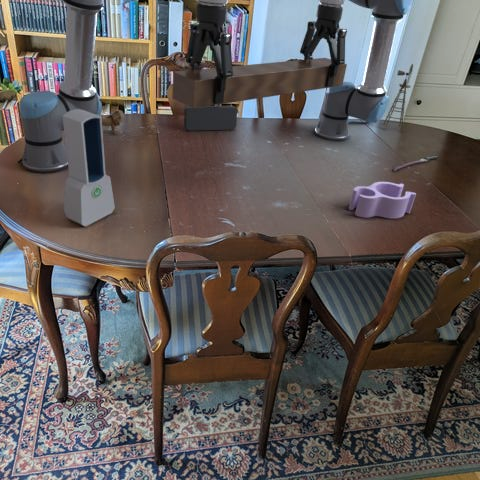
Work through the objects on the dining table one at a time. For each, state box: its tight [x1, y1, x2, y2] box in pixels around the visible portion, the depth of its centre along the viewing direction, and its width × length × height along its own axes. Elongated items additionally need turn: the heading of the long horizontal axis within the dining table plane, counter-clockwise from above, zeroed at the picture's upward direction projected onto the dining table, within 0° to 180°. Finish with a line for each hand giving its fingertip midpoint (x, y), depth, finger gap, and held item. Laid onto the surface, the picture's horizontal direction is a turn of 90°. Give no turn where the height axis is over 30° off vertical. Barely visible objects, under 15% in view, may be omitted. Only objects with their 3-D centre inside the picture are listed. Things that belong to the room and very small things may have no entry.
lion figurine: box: [102, 109, 125, 135], centre depth 186 cm, size 15×5×9 cm, turn 110°
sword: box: [393, 155, 441, 172], centre depth 190 cm, size 31×3×1 cm, turn 126°
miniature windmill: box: [383, 63, 414, 132], centre depth 220 cm, size 9×8×30 cm
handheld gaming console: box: [183, 105, 239, 132], centre depth 200 cm, size 23×3×10 cm, turn 108°
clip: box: [348, 181, 417, 220], centre depth 152 cm, size 20×12×7 cm, turn 109°
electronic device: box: [63, 109, 116, 227], centre depth 126 cm, size 12×8×30 cm, turn 148°
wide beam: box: [172, 57, 348, 108], centre depth 135 cm, size 60×9×7 cm, turn 131°
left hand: (206, 97), depth 124 cm, fingers closed on wide beam, 9 cm apart
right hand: (317, 82), depth 150 cm, fingers closed on wide beam, 9 cm apart
